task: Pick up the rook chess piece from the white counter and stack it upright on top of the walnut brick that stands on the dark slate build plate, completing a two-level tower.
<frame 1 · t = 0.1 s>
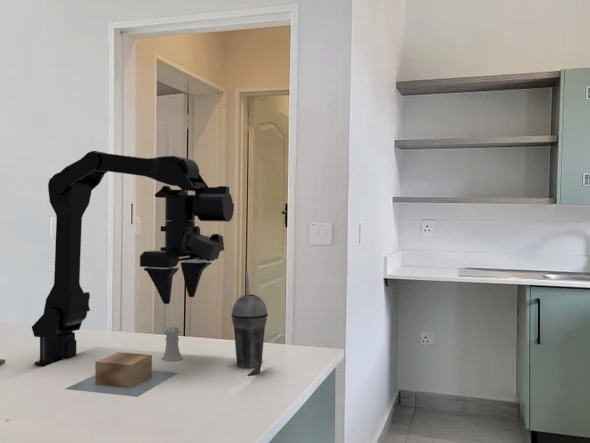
hand: (179, 300, 107), 14 cm above the counter, tool pointing down, fingers open, 9 cm apart
rook chess piece: (172, 366, 113), on the counter
build plate: (124, 388, 98), on the counter
beverage cup: (249, 373, 109), on the counter
base brick: (124, 380, 98), point 1 cm above the counter, touching build plate
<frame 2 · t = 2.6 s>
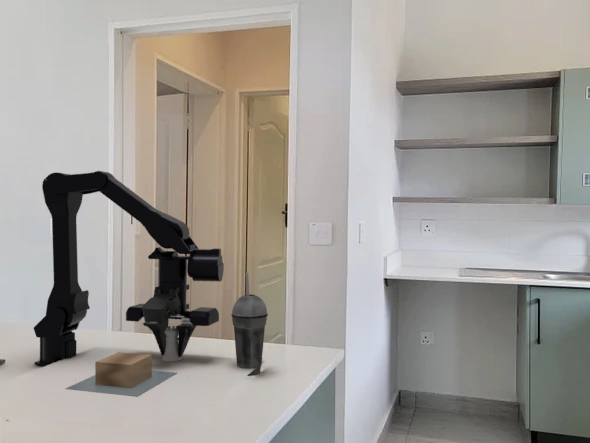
hand: (172, 355, 113), 2 cm above the counter, tool pointing down, fingers closed on rook chess piece, 3 cm apart
rook chess piece: (172, 366, 113), on the counter, touching gripper
everything else where it was.
when the fingers open (8 cm above the counter, at t = 6.4 s): rook chess piece stays where it is, resting on base brick.
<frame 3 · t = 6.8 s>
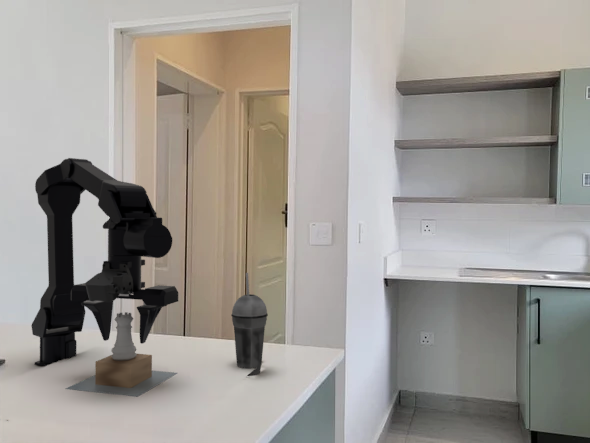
hand: (124, 341, 98), 8 cm above the counter, tool pointing down, fingers open, 7 cm apart
rook chess piece: (124, 359, 98), point 5 cm above the counter, touching base brick
base brick: (124, 380, 98), point 1 cm above the counter, touching build plate, rook chess piece
everything else where it was.
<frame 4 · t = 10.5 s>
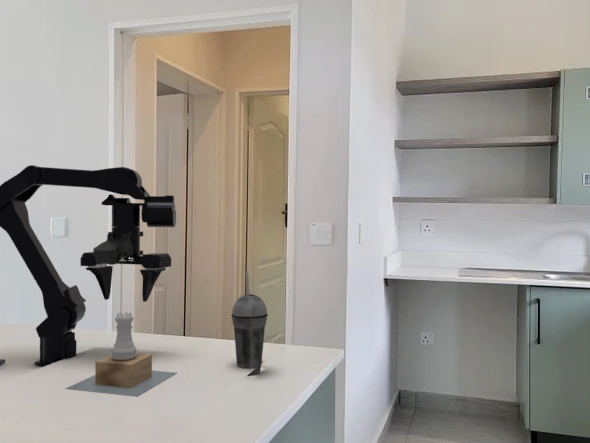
hand: (125, 300, 116), 13 cm above the counter, tool pointing down, fingers open, 9 cm apart
nothing on the counter moved.
at the end: rook chess piece 0.1 cm off-centre on the base brick, point 3.8 cm above the base brick's base; rook chess piece tilted 0°; rook chess piece touching base brick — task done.
